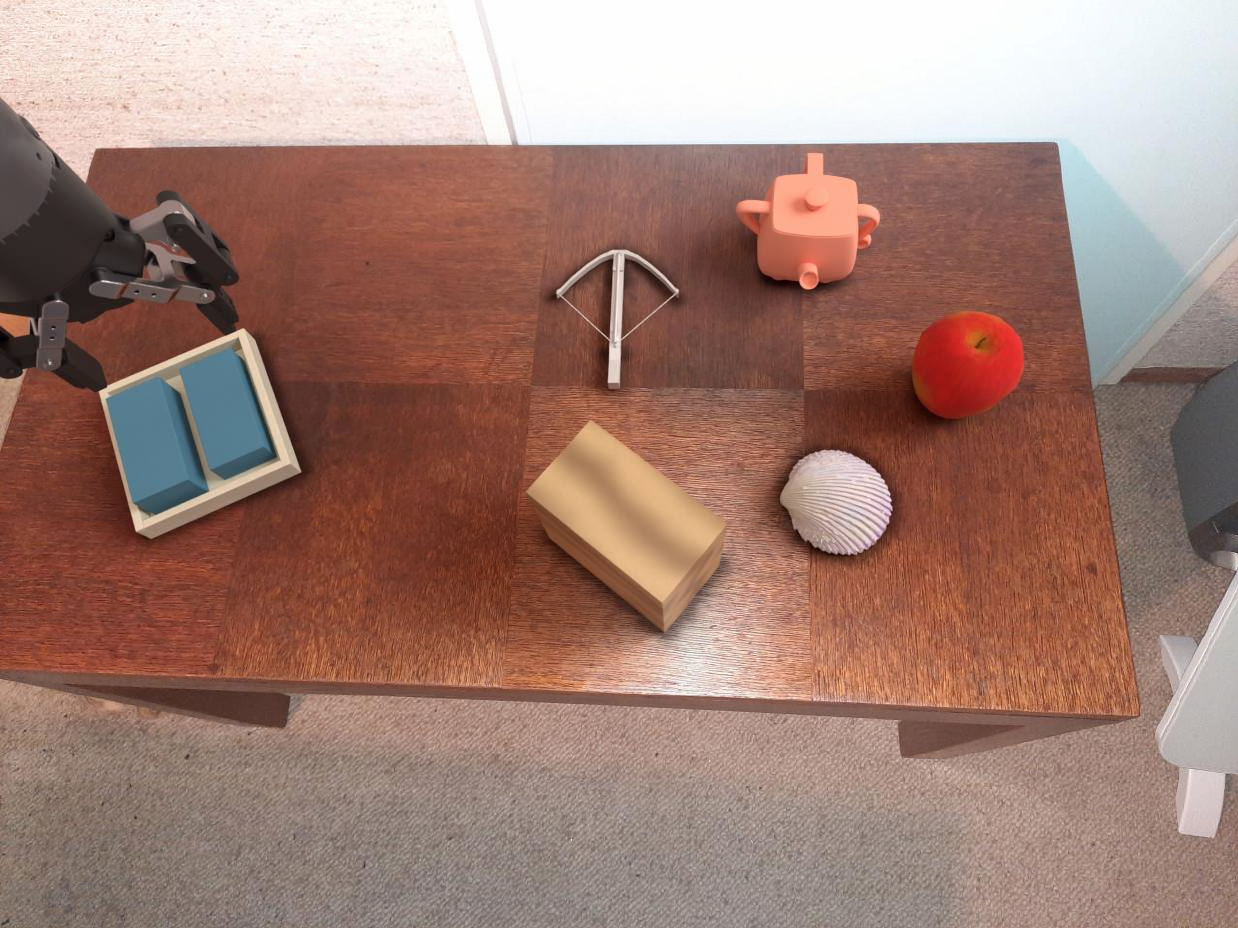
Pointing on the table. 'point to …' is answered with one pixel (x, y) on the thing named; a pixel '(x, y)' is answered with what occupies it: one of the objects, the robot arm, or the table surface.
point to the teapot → (809, 226)
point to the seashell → (837, 502)
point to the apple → (966, 364)
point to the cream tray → (218, 487)
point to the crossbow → (616, 303)
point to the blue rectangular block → (156, 446)
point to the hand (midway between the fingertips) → (164, 350)
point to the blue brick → (227, 414)
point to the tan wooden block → (628, 524)
